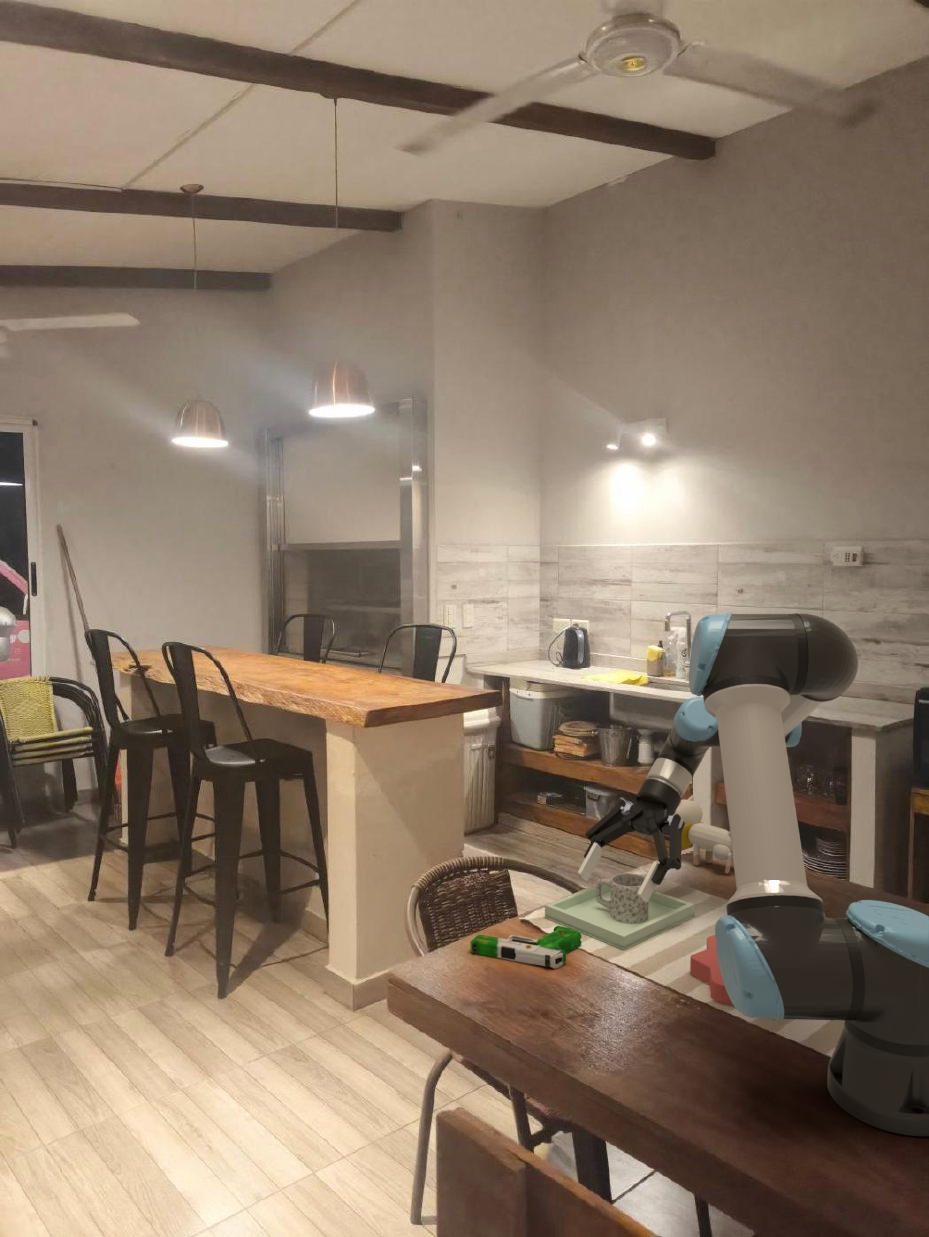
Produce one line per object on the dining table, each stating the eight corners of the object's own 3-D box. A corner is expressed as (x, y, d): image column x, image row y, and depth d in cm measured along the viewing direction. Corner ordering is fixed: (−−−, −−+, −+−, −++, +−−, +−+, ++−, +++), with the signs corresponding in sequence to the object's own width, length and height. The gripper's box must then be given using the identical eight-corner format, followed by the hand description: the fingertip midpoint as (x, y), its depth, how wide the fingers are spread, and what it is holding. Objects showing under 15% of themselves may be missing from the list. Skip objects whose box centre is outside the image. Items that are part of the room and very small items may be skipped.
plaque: (688, 929, 156) (783, 936, 153) (688, 951, 156) (782, 959, 153) (692, 979, 138) (799, 988, 135) (692, 1004, 139) (798, 1014, 136)
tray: (624, 950, 156) (624, 936, 155) (544, 917, 169) (544, 905, 169) (694, 916, 169) (694, 904, 169) (615, 888, 182) (615, 877, 182)
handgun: (498, 914, 165) (469, 939, 155) (583, 928, 159) (559, 955, 148) (498, 930, 166) (469, 956, 155) (583, 945, 159) (559, 974, 148)
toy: (688, 850, 204) (689, 782, 202) (765, 874, 189) (767, 802, 188) (662, 859, 198) (663, 790, 197) (739, 885, 184) (741, 810, 182)
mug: (654, 913, 169) (654, 878, 168) (638, 926, 163) (639, 889, 163) (603, 901, 174) (604, 867, 174) (587, 913, 169) (587, 878, 168)
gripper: (729, 814, 168) (678, 918, 160) (620, 786, 187) (569, 878, 178) (713, 790, 164) (660, 896, 156) (602, 765, 183) (550, 858, 174)
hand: (611, 887), depth 167 cm, fingers open, 13 cm apart
